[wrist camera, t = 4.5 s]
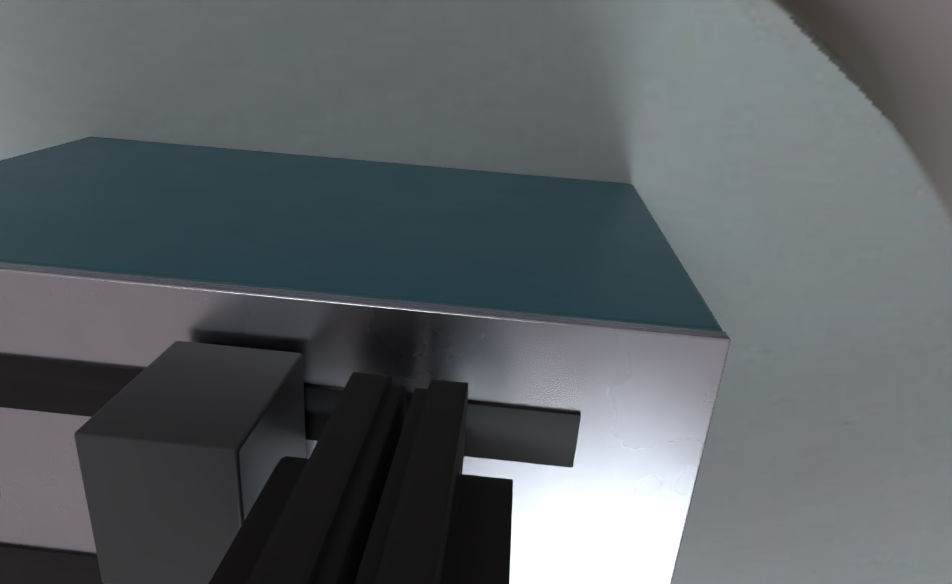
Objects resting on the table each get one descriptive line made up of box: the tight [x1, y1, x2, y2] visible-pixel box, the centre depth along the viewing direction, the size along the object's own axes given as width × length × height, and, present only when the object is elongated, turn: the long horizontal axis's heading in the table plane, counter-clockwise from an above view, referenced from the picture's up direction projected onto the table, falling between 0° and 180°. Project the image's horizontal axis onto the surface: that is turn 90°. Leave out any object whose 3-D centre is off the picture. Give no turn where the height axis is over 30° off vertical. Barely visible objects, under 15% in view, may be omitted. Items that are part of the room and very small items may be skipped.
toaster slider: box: [74, 341, 306, 584], centre depth 9 cm, size 2×2×2 cm
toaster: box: [0, 137, 730, 584], centre depth 17 cm, size 10×16×10 cm, turn 86°
